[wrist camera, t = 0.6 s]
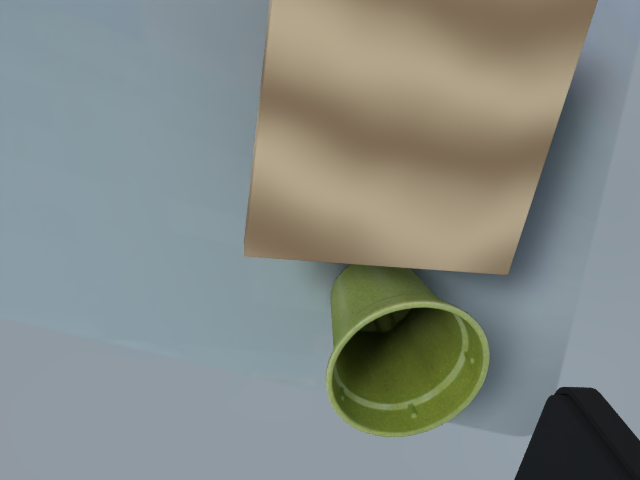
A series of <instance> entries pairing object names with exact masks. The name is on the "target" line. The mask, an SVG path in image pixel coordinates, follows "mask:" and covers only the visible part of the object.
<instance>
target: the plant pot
mask: <svg viewBox="0 0 640 480" xmlns="http://www.w3.org/2000/svg"><path fill="white" fill-rule="evenodd" d="M399 310H401V311H400V312H398V311H399ZM331 314H332V329H333V346H334V348H333V351H332V354H331V356H330V359H329V362H328V366H327V371H326V388H327V394H328V398H329V400H330V403H331V405H332V407H333V409H334V410H335V411H336V413H337V414H338V415H339V416H340V417H341V418H342V419H343V420H344V421H345V422H346V423H348V424H349V425H350V426H352V427H353V428H355V429H357V430H359V431H362V432H365V433H368V434H373V435H375V436H382V437H405V436H411V435H415V434H419V433H422V432H427V431H429V430H432V429H434V428H436V427H438V426H440V425H443V424H444V423H446V422H448V421H449V420H451V419H452V418H454V417H455V416H457V415H458V414H459V413H460V412H461V411H462V410H464V409H465V408H466V407H467V406H468V405H469V404H470V403H471V401H472V400H473V399H474V397H475V396H476V395H477V393H478V392H479V390H480V388H481V387H482V385H483V383H484V381H485V378H486V376H487V372H488V367H489V361H490V359H489V358H490V353H489V346H488V341H487V338H486V336H485V333H484V331H483V330H482V328H481V327H480V325H479V324H478V323H477V322H476V320H475V319H474V318H473V317H472V316H471V315H469V314H468V313H467V312H465V311H464V310H462V309H460V308H458V307H457V306H454V305H451V304H449V303H446V302H444V301H442V300H440V299H439V298H438V297H437V296H436V294H435V293H434V292H433V291H432V290H431V289H430V288H429V287H428V286H427V285H426V284H425V283H424V282H423V281H422V280H421V279H420V278H419V277H418V276H417V275H416V274H415V273H414V272H413V271H412V270H411V269H410V268H401V267H387V266H373V265H359V264H351V265H350V266H348V267H347V268H346V269H345V270H343V272H342V273H341V274H340V275H339V276H338V278H337V279H336V281H335V283H334V285H333V288H332V291H331ZM368 323H369V324H368ZM366 324H367V325H366Z"/></svg>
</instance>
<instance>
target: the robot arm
mask: <svg viewBox="0 0 640 480" xmlns="http://www.w3.org/2000/svg"><path fill="white" fill-rule="evenodd" d="M515 480H640V441H639V439H638V438H637V437H636V436H635V434H634V433H633V432H632V431H631V430H630V428H629V427H628V426H627V425H626V424H625V422H624V421H623V420H622V419H621V418H620V416H618V414H617V413H616V412H615V410H613V408H612V407H611V406H610V404H609V403H608V402H607V401H606V400H605V399H604V397H603V396H602V395H601V394H600V393H599V392H598V391H597V390H596V389H593V388H583V387H581V388H580V387H561V388H559V389H558V390H557V391H556V393H555V394H554V395H551V396H550V397H549V398H548V399H547V401H546V404H545V406H544V409H543V411H542V413H541V416H540V418H539V421H538V423H537V426H536V428H535V431H534V433H533V435H532V438H531V441H530V443H529V445H528V448H527V450H526V453H525V455H524V458H523V460H522V463H521V465H520V467H519V470H518V472H517V475H516V477H515Z"/></svg>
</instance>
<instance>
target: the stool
mask: <svg viewBox="0 0 640 480" xmlns="http://www.w3.org/2000/svg"><path fill="white" fill-rule="evenodd" d="M597 1H598V0H270V3H269V13H268V22H267V31H266V41H265V50H264V59H263V69H262V78H261V87H260V97H259V106H258V115H257V125H256V134H255V143H254V153H253V162H252V171H251V181H250V190H249V199H248V209H247V218H246V227H245V237H244V256H246V257H260V258H274V259H288V260H302V261H316V262H330V263H345V264H359V265H373V266H387V267H401V268H415V269H430V270H444V271H458V272H472V273H486V274H500V275H508V273H509V270H510V267H511V264H512V260H513V257H514V254H515V251H516V248H517V245H518V242H519V239H520V236H521V233H522V230H523V227H524V224H525V221H526V218H527V215H528V212H529V209H530V206H531V203H532V200H533V196H534V193H535V190H536V187H537V184H538V181H539V178H540V175H541V172H542V169H543V166H544V163H545V160H546V157H547V154H548V151H549V148H550V145H551V142H552V139H553V136H554V132H555V129H556V126H557V123H558V120H559V117H560V114H561V111H562V108H563V105H564V102H565V99H566V96H567V93H568V90H569V87H570V84H571V81H572V78H573V75H574V72H575V68H576V65H577V62H578V59H579V56H580V53H581V50H582V47H583V44H584V41H585V38H586V35H587V32H588V29H589V26H590V23H591V20H592V17H593V14H594V11H595V8H596V4H597Z"/></svg>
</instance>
